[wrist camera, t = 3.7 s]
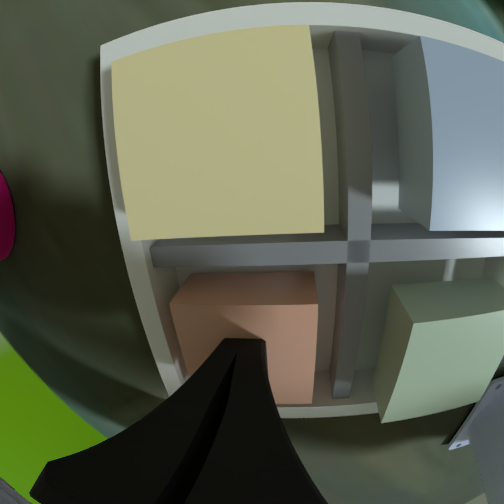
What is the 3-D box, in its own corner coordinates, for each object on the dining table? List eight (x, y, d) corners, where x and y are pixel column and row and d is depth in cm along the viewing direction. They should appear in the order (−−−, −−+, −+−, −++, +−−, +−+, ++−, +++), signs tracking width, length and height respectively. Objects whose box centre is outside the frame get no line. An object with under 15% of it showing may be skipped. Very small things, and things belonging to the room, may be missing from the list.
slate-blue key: (501, 84, 5) (541, 79, 3) (503, 211, 7) (542, 231, 5) (390, 58, 6) (419, 35, 4) (398, 208, 8) (429, 231, 6)
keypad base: (495, 63, 6) (529, 56, 4) (461, 361, 11) (477, 391, 9) (136, 59, 8) (100, 45, 6) (188, 374, 14) (174, 408, 11)
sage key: (491, 276, 8) (523, 306, 6) (461, 367, 9) (478, 401, 7) (391, 284, 8) (413, 323, 6) (371, 381, 10) (380, 423, 8)
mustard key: (304, 53, 6) (308, 24, 4) (315, 209, 8) (324, 232, 6) (151, 76, 7) (111, 61, 5) (166, 217, 9) (131, 240, 7)
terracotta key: (313, 271, 10) (318, 304, 8) (310, 365, 12) (311, 403, 10) (190, 273, 11) (169, 303, 9) (209, 362, 12) (196, 398, 10)
